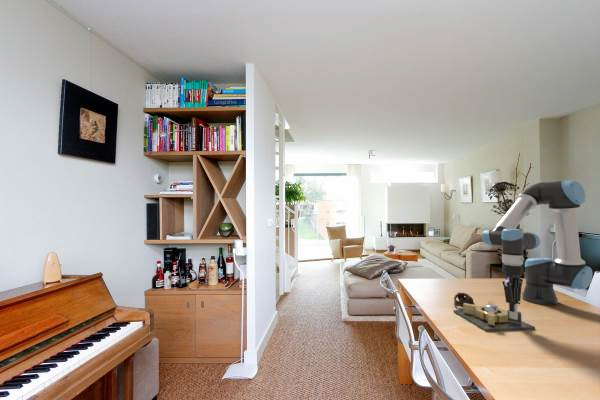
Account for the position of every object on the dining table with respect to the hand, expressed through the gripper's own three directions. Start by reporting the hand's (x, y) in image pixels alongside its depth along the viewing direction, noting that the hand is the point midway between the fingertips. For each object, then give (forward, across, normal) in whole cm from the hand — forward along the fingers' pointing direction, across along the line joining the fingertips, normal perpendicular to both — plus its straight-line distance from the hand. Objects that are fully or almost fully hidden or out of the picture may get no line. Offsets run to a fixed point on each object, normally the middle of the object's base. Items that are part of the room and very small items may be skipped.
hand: (513, 318), depth 126 cm
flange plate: (+3, -2, +8) cm, 9 cm away
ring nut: (+2, -2, +8) cm, 8 cm away
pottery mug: (+3, +5, +25) cm, 25 cm away
